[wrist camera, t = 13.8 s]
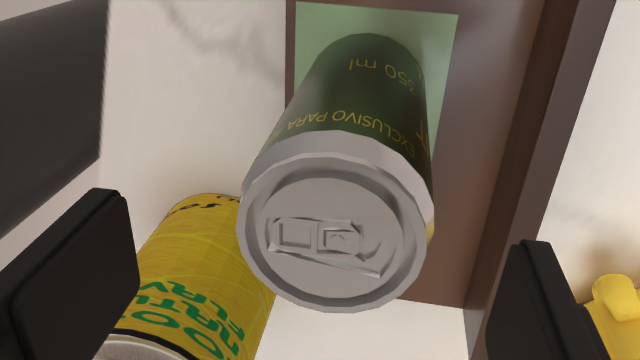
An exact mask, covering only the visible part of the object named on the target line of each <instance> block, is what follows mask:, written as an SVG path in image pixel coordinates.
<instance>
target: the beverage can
mask: <svg viewBox="0 0 640 360" xmlns="http://www.w3.org/2000/svg"><path fill="white" fill-rule="evenodd" d="M239 204H240V199H238V198H234V197H230V196H226V195H222V194H201V195H197V196H192V197H188V198H187V199H185V200H183V201H181V202H180V203H178V204H176V205H175V206H174V208H173V209H172V210H171V211H170V212H169V213H168V215H167V216H166V217H165V218H164V220H163V221H162V222H161V224H160V225H159V226H158V227H157V229H156V230H155V231H154V232H153V234H152V235H151V236H150V238H149V239H148V240H147V241H146V243H145V244H144V245H143V247H142V248H141V249H140V250H139V252H138V253H137V254H136V256H137V262H138V268H139V273H140V280H141V282H140V288H139V291H138V293H137V294H136V296H135V297H134V299H133V300H132V302H131V303H130V305H129V306H128V308H127V309H126V311H125V312H124V314H123V315H122V317H121V318H120V320H119V321H118V323H117V324H116V325H115V327H114V328H113V330H112V331H111V333H110V334H109V336H108V337H107V339H106V340H105V342H104V343H103V345H102V346H101V348H100V349H99V351H98V352H97V353H96V355H95V356H94V358H93V359H92V360H254V358H255V355H256V352H257V349H258V346H259V343H260V340H261V337H262V335H263V332H264V329H265V326H266V323H267V320H268V317H269V314H270V311H271V308H272V306H273V303H274V300H275V297H276V294H275V293H274V292H273V291H272V290H271V289H270V288H268V287H267V286H266V285H265V284H264V283H263V282H262V281H261V280H259V279H258V278H257V277H256V276H255V275H254V273H253V272H252V270H251V268H250V267H249V265H248V264H247V262H246V261H245V259H244V257H243V256H242V254H241V250H240V246H239V242H238V238H237V234H236V224H237V216H238V207H239Z"/></svg>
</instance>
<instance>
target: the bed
mask: <svg viewBox="0 0 640 360" xmlns="http://www.w3.org/2000/svg"><path fill="white" fill-rule="evenodd" d="M615 3H616V0H286V55H285V110H286V108H287V106H288V105H289V103H290V101H291V100H292V98H293V96H294V95H295V93H296V91H297V90H298V88H299V86H300V85H301V83H302V81H303V80H304V78H305V76H306V75H307V73H308V71H309V70H310V68H311V66H312V65H313V63H314V61H315V60H316V58H317V56H318V55H319V54H320V53H321V52H322V51H323V50H324V49H325V48H327V47H328V46H329V45H330V44H331V43H332V42H334V41H336V40H339V39H341V38H343V37H345V36H348V35H350V34H361V33H373V34H378V35H382V36H386V37H390V38H391V39H393V40H394V41H396V42H398V43H399V44H401V45H403V46H404V47H406V48H407V50H408V51H409V52H410V53H411V54H412V56H413V57H414V58H415V59H416V60H417V62H418V63H419V66H420V69H421V71H422V74H423V77H424V79H425V92H426V105H427V119H428V133H429V146H430V160H431V174H432V187H433V201H434V234H433V237H432V239H431V242H430V244H429V247H428V249H427V252H426V257H425V260H424V262H423V265H422V267H421V270H420V272H419V275H418V277H417V278H416V280H415V281H414V282H413V283H412V284H411V285H410V286H409V287H408V288H407V289H406V290H405V291H404V293H403V294H402V295H401V296H399V297H397V298H395V299H402V300H408V301H415V302H422V303H428V304H435V305H442V306H448V307H455V308H462V309H463V315H464V323H465V331H466V339H467V347H468V355H469V360H488V355H487V350H486V344H485V329H486V325H487V322H488V318H489V315H490V312H491V308H492V305H493V302H494V299H495V295H496V292H497V289H498V285H499V282H500V279H501V276H502V272H503V269H504V266H505V262H506V259H507V256H508V253H509V249H510V247H511V245H512V244H517V245H519V242H520V241H521V240H522V239H527V240H536V237H537V234H538V231H539V228H540V225H541V222H542V219H543V216H544V213H545V211H546V208H547V205H548V202H549V199H550V196H551V193H552V190H553V187H554V184H555V181H556V178H557V175H558V172H559V169H560V166H561V163H562V160H563V157H564V154H565V151H566V148H567V145H568V142H569V139H570V136H571V133H572V130H573V128H574V125H575V122H576V119H577V116H578V113H579V110H580V107H581V104H582V101H583V98H584V95H585V92H586V89H587V86H588V83H589V80H590V77H591V74H592V71H593V68H594V65H595V62H596V59H597V56H598V53H599V50H600V47H601V44H602V42H603V39H604V36H605V33H606V30H607V27H608V24H609V21H610V18H611V15H612V12H613V9H614V6H615Z"/></svg>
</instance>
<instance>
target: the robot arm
mask: <svg viewBox="0 0 640 360" xmlns="http://www.w3.org/2000/svg"><path fill="white" fill-rule="evenodd" d="M140 282H141V280H140V273H139V268H138V262H137V256H136V251H135V245H134V240H133V234H132V228H131V223H130V217H129V212H128V206H127V201H126V199H125V198H124V197H122V196H121V195H120V193H119V192H118V191H117V190H112V189H103V188H92V189H90V190H89V191H88V192H87V193H86V194H85V195H84V196H82V197H81V198H80V199H79V200H78V201H77V202H76V203H75V204H74V205H73V206H71V207H70V208H69V209H68V210H67V211H66V212H65V213H64V214H63V215H62V216H61V217H60V218H58V220H56V221H55V222H54V223H53V224H52V225H51V226H50V227H49V228H47V229H46V230H45V231H44V232H43V233H42V234H41V235H40V236H39V237H38V238H37V239H35V240H34V241H33V242H32V243H31V244H30V245H29V246H28V247H27V248H26V249H25V250H23V252H21V253H20V254H19V255H18V256H17V257H16V258H15V259H14V260H13V261H11V262H10V263H9V264H8V265H7V266H6V267H5V268H4V269H3V270H2V271H1V272H0V360H92V359H93V358H94V356H95V355H96V353H97V352H98V351H99V349H100V348H101V346H102V345H103V343H104V342H105V340H106V339H107V337H108V336H109V334H110V333H111V331H112V330H113V328H114V327H115V325H116V324H117V323H118V321H119V320H120V318H121V317H122V315H123V314H124V312H125V311H126V309H127V308H128V306H129V305H130V303H131V302H132V300H133V299H134V297H135V296H136V294H137V293H138V291H139V288H140ZM485 344H486V350H487V355H488V360H611V358H610V355H609V353H608V351H607V349H606V347H605V345H604V343H603V340H602V338H601V336H600V334H599V332H598V330H597V327H596V325H595V323H594V321H593V319H592V317H591V315H590V312H589V311H588V309H587V308H586V307H585V306H584V305H582V304H577V303H576V301H575V299H574V296H573V294H572V292H571V289H570V287H569V285H568V283H567V280H566V278H565V276H564V274H563V271H562V269H561V267H560V265H559V262H558V260H557V258H556V256H555V253H554V251H553V249H552V247H551V245H550V243H548V242H544V241H536V240H527V239H522V240H521V241H520V242H519V245H517V244H512V245H511V247H510V249H509V253H508V256H507V259H506V262H505V266H504V269H503V272H502V276H501V279H500V282H499V285H498V289H497V292H496V295H495V299H494V302H493V305H492V308H491V312H490V315H489V318H488V322H487V325H486V329H485Z"/></svg>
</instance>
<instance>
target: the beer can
mask: <svg viewBox="0 0 640 360" xmlns="http://www.w3.org/2000/svg"><path fill="white" fill-rule="evenodd" d="M236 234H237V238H238V242H239V246H240V250H241V254H242V256H243V257H244V259H245V261H246V262H247V264H248V265H249V267H250V268H251V270H252V272H253V273H254V275H255V276H256V277H257V278H258V279H259V280H261V281H262V282H263V283H264V284H265V285H266V286H267V287H268V288H270V289H271V290H272V291H273V292H274V293H275V294H277V295H279V296H281V297H283V298H285V299H287V300H289V301H291V302H293V303H295V304H296V305H298V306H302V307H306V308H309V309H313V310H317V311H321V312H325V313H356V312H361V311H365V310H370V309H374V308H379V307H380V306H382V305H384V304H386V303H388V302H390V301H391V300H393V299H395V298H397V297H399V296H401V295H402V294H403V293H404V291H405V290H406V289H407V288H408V287H409V286H410V285H411V284H412V283H413V282H414V281H415V280H416V278H417V277H418V275H419V272H420V270H421V267H422V265H423V262H424V260H425V257H426V252H427V249H428V247H429V244H430V242H431V239H432V237H433V234H434V201H433V187H432V174H431V160H430V146H429V133H428V119H427V105H426V92H425V79H424V77H423V74H422V71H421V69H420V66H419V63H418V62H417V60H416V59H415V58H414V57H413V56H412V54H411V53H410V52H409V51H408V50H407V48H406V47H404V46H403V45H401V44H399V43H398V42H396V41H394V40H393V39H391V38H390V37H386V36H382V35H378V34H373V33H361V34H350V35H348V36H345V37H343V38H341V39H339V40H336V41H334V42H332V43H331V44H330V45H329V46H328V47H327V48H325V49H324V50H323V51H322V52H321V53H320V54H319V55H318V56H317V58H316V60H315V61H314V63H313V65H312V66H311V68H310V70H309V71H308V73H307V75H306V76H305V78H304V80H303V81H302V83H301V85H300V86H299V88H298V90H297V91H296V93H295V95H294V96H293V98H292V100H291V101H290V103H289V105H288V106H287V108H286V110H285V111H284V113H283V115H282V116H281V118H280V120H279V121H278V123H277V124H276V126H275V128H274V129H273V131H272V133H271V134H270V136H269V138H268V139H267V141H266V143H265V144H264V146H263V148H262V149H261V151H260V153H259V154H258V156H257V158H256V159H255V161H254V163H253V165H252V166H251V168H250V170H249V172H248V174H247V176H246V177H245V179H244V181H243V183H242V187H241V196H240V204H239V207H238V216H237V224H236Z"/></svg>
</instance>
